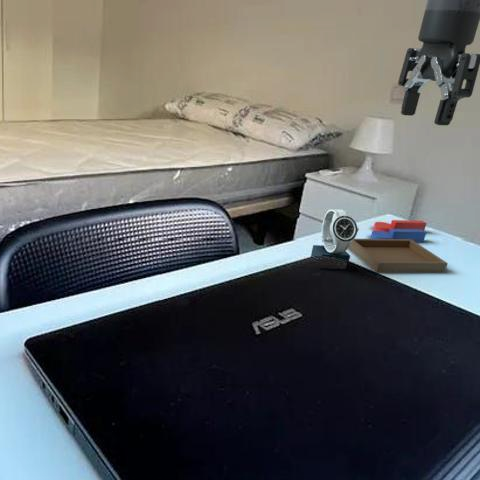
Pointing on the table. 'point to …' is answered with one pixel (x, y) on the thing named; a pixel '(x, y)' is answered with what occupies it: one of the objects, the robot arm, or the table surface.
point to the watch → (336, 235)
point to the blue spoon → (400, 234)
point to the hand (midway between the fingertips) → (423, 119)
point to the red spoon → (399, 225)
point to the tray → (396, 255)
